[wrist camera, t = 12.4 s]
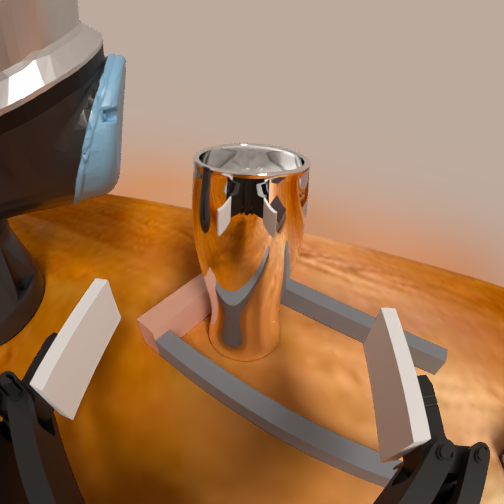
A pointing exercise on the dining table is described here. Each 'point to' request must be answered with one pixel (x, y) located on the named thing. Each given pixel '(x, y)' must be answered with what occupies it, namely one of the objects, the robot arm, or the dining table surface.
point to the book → (502, 458)
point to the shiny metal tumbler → (248, 239)
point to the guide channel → (257, 404)
